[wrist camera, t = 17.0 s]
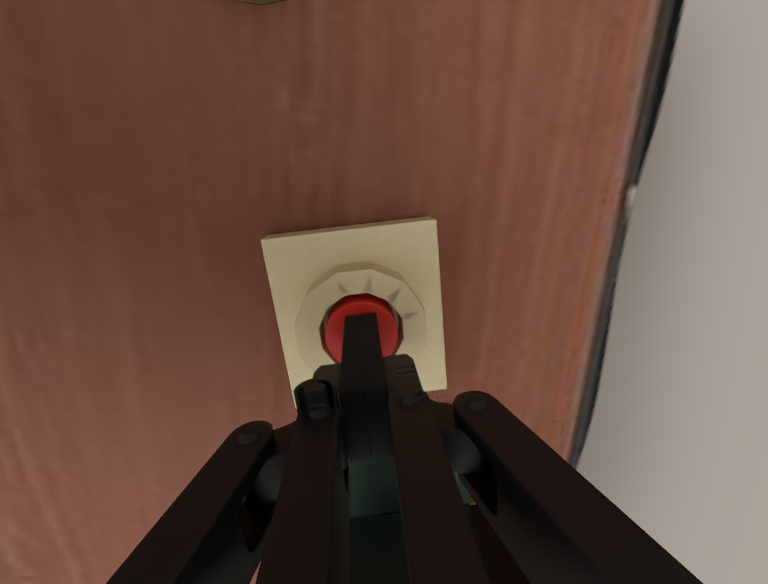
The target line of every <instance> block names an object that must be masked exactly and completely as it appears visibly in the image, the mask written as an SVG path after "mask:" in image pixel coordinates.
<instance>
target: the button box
mask: <svg viewBox="0 0 768 584" xmlns="http://www.w3.org/2000/svg"><path fill="white" fill-rule="evenodd" d="M261 245H262V250H263V255H264V259H265V264H266V269H267V274H268V279H269V284H270V288H271V293H272V298H273V303H274V308H275V313H276V317H277V322H278V327H279V332H280V337H281V342H282V346H283V351H284V356H285V361H286V366H287V370H288V375H289V380H290V385H291V390H292V395H293V399H294V404H295V408H296V409H297V407H296V402H295V397H294V392H293V391H294V389H295V388H296V386H298V385H299V384H300V383H302V382H304V381H306V380H308V379H312V378H313V374H314V372H315V371H316V370H317V369H318V368H319V366H321V365H329V364H337V363H340V362H339V361H338V360H336V359H335V358H334V357H333V355H332V354H331V353H330V351H329V349H328V347H327V344H326V340H325V331H326V326H327V321H328V316H329V313H330V310H331V308H332V307H333V305H334V304H335V303H336V302H337V301H339V300H340V299H341V298H343V297H344V296H347V295H355V294H363V293H369V294H372V295H374V296H377V297H379V298H382V299H384V300H386V302H387V303H388V304H389V305H390V307H391V309H392V311H393V313H394V317H395V320H396V324H397V327H398V341H397V345H396V347H395V349H394V351H393V353H392V354H391V355H399V354H407V355H409V356H410V357H411V358H413V360H414V363H415V367H416V369H417V373H418V376H419V379H420V382H421V385H422V388H423V391H425V392H426V391H433V390H441V389H447V379H446V363H445V347H444V331H443V315H442V299H441V283H440V268H439V252H438V236H437V220H436V219H435V218H433V217H430V216H426V217H417V218H409V219H400V220H391V221H383V222H374V223H365V224H357V225H348V226H340V227H331V228H322V229H314V230H305V231H297V232H288V233H279V234H271V235H267V236H266V237H264V238H263V239H261ZM391 355H390V356H391Z"/></svg>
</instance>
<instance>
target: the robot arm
mask: <svg viewBox="0 0 768 584" xmlns="http://www.w3.org/2000/svg"><path fill="white" fill-rule="evenodd" d="M293 392H294V397H295V402H296V407H297V412H298V416H297V420H296V421H294V422H293V423H291V424H289V425H286V426H284V427H281V428H278V429H275V430H273V428H272V425H271V424H270V423H269V422H266V421H253V422H249V423H246V424H244V425H242V426H240V427H238V428H237V429H235V430H234V431H233V432H232V433H231V434H230V435H229V436H228V437H227V439H226V440H225V441H224V442H223V443H222V445H221V446H220V447H219V448H218V449H217V451H216V452H215V453H214V454H213V455H212V457H211V458H210V459H209V460H208V461H207V463H206V464H205V465H204V466H203V467H202V469H201V470H200V471H199V472H198V473H197V475H196V476H195V477H194V478H193V480H192V481H191V482H190V483H189V484H188V486H187V487H186V488H185V489H184V490H183V492H182V493H181V494H180V495H179V496H178V498H177V499H176V500H175V501H174V502H173V504H172V505H171V506H170V507H169V508H168V510H167V511H166V512H165V513H164V514H163V516H162V517H161V518H160V519H159V520H158V522H157V523H156V524H155V525H154V526H153V528H152V529H151V530H150V531H149V532H148V534H147V535H146V536H145V537H144V538H143V540H142V541H141V542H140V543H139V544H138V546H137V547H136V548H135V549H134V550H133V552H132V553H131V554H130V555H129V557H128V558H127V559H126V560H125V561H124V563H123V564H122V565H121V566H120V567H119V569H118V570H117V571H116V572H115V573H114V575H113V576H112V577H111V578H110V579H109V581H108V582H107V583H106V584H249V583H250V581H251V579H252V577H253V575H254V573H255V571H256V569H257V567H258V565H259V563H260V561H261V564H260V568H259V572H258V576H257V580H256V584H349V531H350V477H351V475H350V469H349V463H348V460H349V459H350V463H354V462H361V461H368V460H375V459H382V458H390V457H394V461H395V469H396V477H397V486H398V492H399V500H400V507H401V515H402V523H403V530H404V538H405V546H406V554H407V561H408V569H409V577H410V584H490V583H489V580H488V577H487V574H486V571H485V568H484V565H483V562H482V559H481V556H480V553H479V550H478V547H477V544H476V540H475V537H474V534H473V531H472V528H471V525H470V522H469V519H468V516H467V513H466V510H465V507H464V504H463V501H462V498H461V495H460V492H459V488H458V485H457V482H456V479H455V476H454V473H453V472H455V473H457V474H458V477H459V479H460V481H461V482H462V484H463V485H464V487H465V488H466V490H467V491H468V493H469V494H470V495H471V497H472V498H473V500H474V501H475V503H476V504H477V506H478V507H479V509H480V510H481V512H482V513H483V515H484V516H485V517H486V519H487V520H488V522H489V523H490V525H491V526H492V528H493V529H494V531H495V532H496V534H497V535H498V537H499V538H500V539H501V541H502V542H503V544H504V545H505V547H506V548H507V550H508V551H509V553H510V554H511V556H512V557H513V559H514V560H515V562H516V563H517V564H518V566H519V567H520V569H521V570H522V572H523V573H524V575H525V576H526V578H527V579H528V581H529V582H530V584H703V583H702V582H701V581H700V580H699V579H697V578H696V577H695V576H694V575H693V574H692V573H691V572H690V571H689V570H687V569H686V568H685V567H684V566H683V565H682V564H681V563H679V562H678V561H677V560H676V559H675V558H674V557H673V556H672V555H671V554H669V553H668V552H667V551H666V550H665V549H664V548H663V547H662V546H660V545H659V544H658V543H657V542H656V541H655V540H654V539H653V538H651V537H650V536H649V535H648V534H647V533H646V532H645V531H644V530H643V529H641V528H640V527H639V526H638V525H637V524H636V523H635V522H634V521H632V520H631V519H630V518H629V517H628V516H627V515H626V514H624V513H623V512H622V511H621V510H620V509H619V508H618V507H617V506H616V505H614V504H613V503H612V502H611V501H610V500H609V499H608V498H607V497H605V496H604V495H603V494H602V493H601V492H600V491H599V490H598V489H596V488H595V487H594V486H593V485H592V484H591V483H590V482H589V481H587V480H586V479H585V478H584V477H583V476H582V475H581V474H580V473H579V472H577V471H576V470H575V469H574V468H573V467H572V466H571V465H570V464H568V463H567V462H566V461H565V460H564V459H563V458H562V457H561V456H559V455H558V454H557V453H556V452H555V451H554V450H553V449H552V448H550V447H549V446H548V445H547V444H546V443H545V442H544V441H543V440H542V439H540V438H539V437H538V436H537V435H536V434H535V433H534V432H533V431H531V430H530V429H529V428H528V427H527V426H526V425H525V424H524V423H522V422H521V421H520V420H519V419H518V418H517V417H516V416H515V415H513V414H512V413H511V412H510V411H509V410H508V409H507V408H506V407H504V406H503V405H502V404H501V403H500V402H499V401H498V400H497V399H495V398H494V397H493V396H491V395H490V394H488V393H484V392H481V391H468V392H463V393H461V394H459V395H458V396H457V397H456V398H455V399H454V402H453V404H446V403H439V402H436V401H433V400H431V399H429V397H428V395H427V394H426V392H425V391H423V388H422V385H421V382H420V379H419V376H418V373H417V369H416V367H415V363H414V360H413V358H411V357H410V356H409V355H407V354H399V355H391V356H384V357H382V350H381V343H380V336H379V329H378V322H377V315H376V313H368V314H360V315H352V316H345V323H344V334H343V345H342V356H341V363H337V364H329V365H321V366H319V368H318V369H317V370H316V371H315V372H314V374H313V378H312V379H308V380H306V381H304V382H302V383H300V384H299V385H298V386H296V388H295V389H294V391H293ZM261 559H262V560H261Z"/></svg>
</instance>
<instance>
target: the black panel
mask: <svg viewBox="0 0 768 584" xmlns="http://www.w3.org/2000/svg"><path fill="white" fill-rule="evenodd" d="M464 507H465V510H466V513H467V516H468V519H469V522H470V525H471V528H472V531H473V534H474V537H475V540H476V544H477V547H478V550H479V553H480V556H481V559H482V562H483V565H484V568H485V571H486V574H487V577H488V580H489V583H490V584H530V582H529V581H528V579H527V578H526V576H525V575H524V573H523V572H522V570H521V569H520V567H519V566H518V564H517V563H516V562H515V560H514V559H513V557H512V556H511V554H510V553H509V551H508V550H507V548H506V547H505V545H504V544H503V542H502V541H501V539H500V538H499V537H498V535H497V534H496V532H495V531H494V529H493V528H492V526H491V525H490V523H489V522H488V520H487V519H486V517H485V516H484V515H483V513H482V512H481V510H480V509H479V507H478V506H477V505H469V506H464ZM349 584H410V577H409V569H408V561H407V554H406V546H405V538H404V530H403V523H402V515H401V513H397V514H387V515H378V516H369V517H360V518H351V519H350V531H349Z"/></svg>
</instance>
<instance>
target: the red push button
mask: <svg viewBox="0 0 768 584" xmlns="http://www.w3.org/2000/svg"><path fill="white" fill-rule="evenodd" d="M368 313H376V315H377V322H378V329H379V336H380V343H381V350H382V357H384V356H390V355H391V354H392V353H393V351H394V349H395V347H396V345H397V341H398V327H397V324H396V320H395V317H394V313H393V311H392V309H391V307H390V305H389V304H388V303H387V302H386V300H384V299H382V298H379V297H377V296H374V295H372V294H369V293H363V294H355V295H347V296H344V297H343V298H341V299H340V300H339V301H337V302H336V303H335V304H334V305H333V307H332V308H331V310H330V313H329V316H328V321H327V326H326V331H325V340H326V344H327V347H328V349H329V351H330V353H331V354H332V355H333V357H334V358H335V359H336V360H338V361H339V362H340V363H341V356H342V345H343V334H344V323H345V316H352V315H360V314H368Z"/></svg>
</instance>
